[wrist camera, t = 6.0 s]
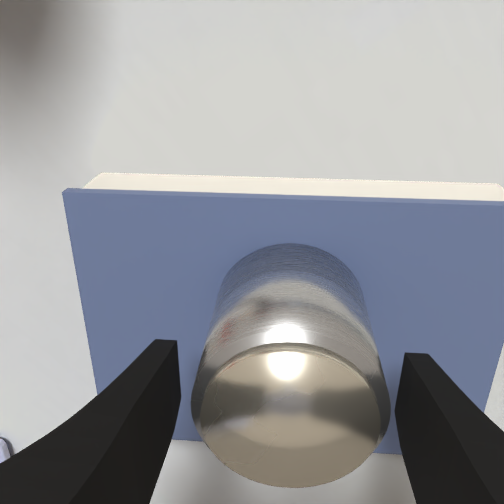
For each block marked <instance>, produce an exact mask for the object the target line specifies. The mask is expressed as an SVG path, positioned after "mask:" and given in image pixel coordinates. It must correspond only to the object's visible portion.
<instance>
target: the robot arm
mask: <svg viewBox="0 0 504 504" xmlns="http://www.w3.org/2000/svg"><path fill="white" fill-rule="evenodd" d="M180 402H181V385H180V372H179V358H178V345H177V340H164V339H155V340H154V341H153V342H152V343H151V344H150V345H149V346H148V347H147V348H146V349H145V350H144V351H143V352H142V353H141V354H140V355H139V356H138V357H137V358H136V359H135V360H134V361H133V362H132V363H131V364H130V365H129V366H128V367H127V368H126V369H125V370H124V371H123V372H122V373H121V374H120V375H119V376H118V377H117V378H116V379H115V380H114V381H112V382H111V383H110V384H109V385H108V386H107V387H106V388H105V389H104V390H103V391H102V392H101V393H99V394H98V395H97V396H96V397H95V398H94V399H92V400H91V401H90V402H89V403H88V404H87V405H85V406H84V407H83V408H82V409H81V410H79V411H78V412H77V413H76V414H74V415H73V416H72V417H71V418H69V419H68V420H67V421H65V422H64V423H63V424H61V425H60V426H58V427H57V428H56V429H54V430H53V431H51V432H50V433H48V434H47V435H45V436H44V437H42V438H41V439H39V440H38V441H36V442H34V443H33V444H31V445H30V446H28V447H26V448H25V449H23V450H22V451H20V452H18V453H17V454H15V455H14V456H12V457H10V454H9V450H8V447H7V444H6V443H5V441H4V440H3V439H1V438H0V504H149V503H150V500H151V497H152V494H153V491H154V489H155V486H156V483H157V480H158V477H159V474H160V471H161V468H162V466H163V463H164V460H165V457H166V454H167V451H168V448H169V445H170V442H171V439H172V436H173V433H174V430H175V426H176V421H177V417H178V412H179V407H180ZM394 412H395V418H396V425H397V432H398V437H399V443H400V448H401V452H402V455H403V459H404V462H405V466H406V469H407V473H408V476H409V480H410V483H411V486H412V490H413V493H414V497H415V500H416V503H417V504H504V432H503V431H502V430H501V429H500V428H499V427H498V426H497V425H496V424H495V423H494V422H493V421H491V420H490V419H489V418H488V417H487V416H486V415H485V414H484V413H483V412H482V411H481V410H480V409H479V408H478V407H477V406H476V405H475V404H474V403H473V402H472V401H471V400H470V399H469V398H468V397H467V396H466V394H465V393H464V392H463V391H462V390H461V389H460V388H459V387H458V386H457V385H456V384H455V383H454V382H453V380H452V379H451V378H450V377H449V376H448V375H447V374H446V373H445V372H444V370H443V369H442V368H441V367H440V366H439V365H438V364H437V363H436V362H435V361H434V359H433V358H432V357H431V356H430V355H429V354H426V353H408V352H405V354H404V359H403V365H402V370H401V376H400V382H399V387H398V393H397V398H396V404H395V410H394Z"/></svg>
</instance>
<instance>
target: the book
mask: <svg viewBox="0 0 504 504" xmlns="http://www.w3.org/2000/svg"><path fill="white" fill-rule="evenodd" d="M62 195H63V201H64V207H65V212H66V218H67V224H68V229H69V235H70V241H71V246H72V252H73V258H74V264H75V269H76V275H77V281H78V286H79V292H80V298H81V303H82V309H83V315H84V320H85V326H86V332H87V338H88V343H89V349H90V355H91V360H92V366H93V372H94V377H95V383H96V389H97V394H99V393H101V392H102V391H103V390H104V389H105V388H106V387H107V386H108V385H109V384H110V383H111V382H112V381H114V380H115V379H116V378H117V377H118V376H119V375H120V374H121V373H122V372H123V371H124V370H125V369H126V368H127V367H128V366H129V365H130V364H131V363H132V362H133V361H134V360H135V359H136V358H137V357H138V356H139V355H140V354H141V353H142V352H143V351H144V350H145V349H146V348H147V347H148V346H149V345H150V344H151V343H152V342H153V341H154V340H155V339H164V340H177V345H178V358H179V372H180V385H181V402H180V407H179V412H178V417H177V421H176V426H175V430H174V433H173V436H172V439H174V440H189V441H203V440H202V438H201V436H200V435H199V433H198V431H197V429H196V427H195V424H194V422H193V418H192V414H191V393H192V390H193V386H194V382H195V379H196V375H197V371H198V367H199V364H200V360H201V356H202V352H203V349H204V345H205V341H206V337H207V334H208V330H209V326H210V323H211V319H212V315H213V311H214V308H215V304H216V300H217V296H218V293H219V289H220V286H221V284H222V281H223V279H224V278H225V276H226V275H227V273H228V272H229V270H230V269H231V268H232V267H233V266H234V265H235V264H236V263H237V262H238V261H239V260H240V259H242V258H243V257H245V256H246V255H248V254H249V253H251V252H254V251H256V250H258V249H260V248H263V247H266V246H271V245H275V244H284V243H297V244H304V245H309V246H313V247H317V248H319V249H322V250H324V251H327V252H328V253H330V254H332V255H334V256H335V257H337V258H338V259H339V260H341V261H342V262H343V263H344V264H345V265H346V266H347V267H348V268H349V269H350V270H351V271H352V273H353V274H354V275H355V277H356V279H357V280H358V282H359V284H360V287H361V289H362V292H363V296H364V300H365V304H366V308H367V311H368V315H369V319H370V323H371V327H372V331H373V335H374V338H375V342H376V346H377V350H378V354H379V358H380V361H381V365H382V369H383V373H384V377H385V381H386V385H387V388H388V392H389V397H390V402H391V416H390V422H389V426H388V428H387V431H386V434H385V436H384V437H383V439H382V441H381V443H380V444H379V445H378V447H377V448H376V449H375V450H374V451H373V452H372V453H386V454H401V455H402V452H401V448H400V443H399V437H398V432H397V425H396V418H395V412H394V410H395V404H396V398H397V393H398V387H399V382H400V376H401V370H402V365H403V359H404V354H405V352H408V353H426V354H429V355H430V356H431V357H432V358H433V359H434V361H435V362H436V363H437V364H438V365H439V366H440V367H441V368H442V369H443V370H444V372H445V373H446V374H447V375H448V376H449V377H450V378H451V379H452V380H453V382H454V383H455V384H456V385H457V386H458V387H459V388H460V389H461V390H462V391H463V392H464V393H465V394H466V396H467V397H468V398H469V399H470V400H471V401H472V402H473V403H474V404H475V405H476V406H477V407H478V408H479V409H480V410H481V411H482V412H483V413H484V410H485V406H486V403H487V399H488V396H489V392H490V389H491V385H492V382H493V378H494V375H495V371H496V368H497V364H498V361H499V357H500V354H501V350H502V347H503V343H504V188H502V187H501V186H500V185H499V184H494V183H458V182H422V181H386V180H350V179H314V178H278V177H242V176H206V175H170V174H134V173H100V174H99V175H98V176H96V177H95V178H94V179H93V180H91V181H90V182H89V183H88V184H86V185H85V186H84V187H83V188H81V189H79V188H67V189H66V190H64V191H63V192H62Z"/></svg>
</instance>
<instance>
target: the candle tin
mask: <svg viewBox="0 0 504 504" xmlns="http://www.w3.org/2000/svg"><path fill="white" fill-rule="evenodd" d="M191 414H192V418H193V422H194V424H195V427H196V429H197V431H198V433H199V435H200V436H201V438H202V440H203V441H204V442H205V444H206V445H207V446H208V447H209V449H211V451H212V452H213V453H214V454H215V456H216V457H217V458H218V459H219V460H220V461H221V462H222V463H223V464H225V465H226V466H227V467H229V468H230V469H231V470H233V471H235V472H236V473H238V474H240V475H242V476H244V477H246V478H248V479H250V480H253V481H256V482H259V483H263V484H267V485H271V486H277V487H288V488H301V487H311V486H317V485H321V484H325V483H328V482H332V481H334V480H337V479H339V478H341V477H343V476H345V475H347V474H349V473H350V472H352V471H353V470H355V469H356V468H357V467H359V466H360V465H361V464H362V463H363V462H364V461H365V460H366V459H367V458H368V456H369V455H370V454H371V453H372V452H373V451H374V450H375V449H376V448H377V447H378V445H379V444H380V443H381V441H382V439H383V437H384V436H385V434H386V431H387V428H388V426H389V422H390V416H391V402H390V397H389V392H388V388H387V385H386V381H385V377H384V373H383V369H382V365H381V361H380V358H379V354H378V350H377V346H376V342H375V338H374V335H373V331H372V327H371V323H370V319H369V315H368V311H367V308H366V304H365V300H364V296H363V292H362V289H361V287H360V284H359V282H358V280H357V279H356V277H355V275H354V274H353V273H352V271H351V270H350V269H349V268H348V267H347V266H346V265H345V264H344V263H343V262H342V261H341V260H339V259H338V258H337V257H335V256H334V255H332V254H330V253H328V252H327V251H324V250H322V249H319V248H317V247H313V246H309V245H304V244H297V243H284V244H275V245H271V246H266V247H263V248H260V249H258V250H256V251H254V252H251V253H249V254H248V255H246V256H245V257H243V258H242V259H240V260H239V261H238V262H237V263H236V264H235V265H234V266H233V267H232V268H231V269H230V270H229V272H228V273H227V275H226V276H225V278H224V279H223V281H222V284H221V286H220V289H219V293H218V296H217V300H216V304H215V308H214V311H213V315H212V319H211V323H210V326H209V330H208V334H207V337H206V341H205V345H204V349H203V352H202V356H201V360H200V364H199V367H198V371H197V375H196V379H195V382H194V386H193V390H192V393H191Z"/></svg>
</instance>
